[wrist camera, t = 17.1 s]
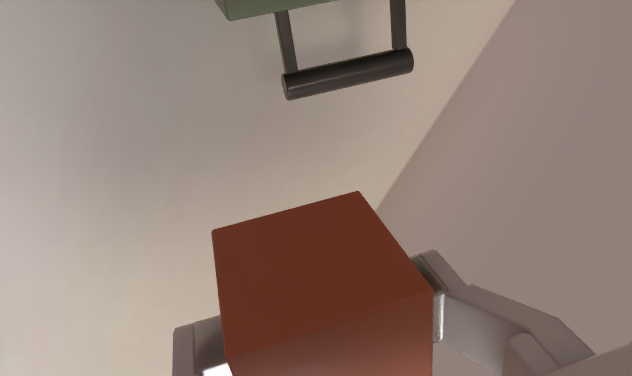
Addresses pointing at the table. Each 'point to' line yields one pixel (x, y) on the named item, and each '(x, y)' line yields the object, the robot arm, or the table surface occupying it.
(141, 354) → the table surface
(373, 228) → the block
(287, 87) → the drawer
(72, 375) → the table surface
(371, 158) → the table surface
